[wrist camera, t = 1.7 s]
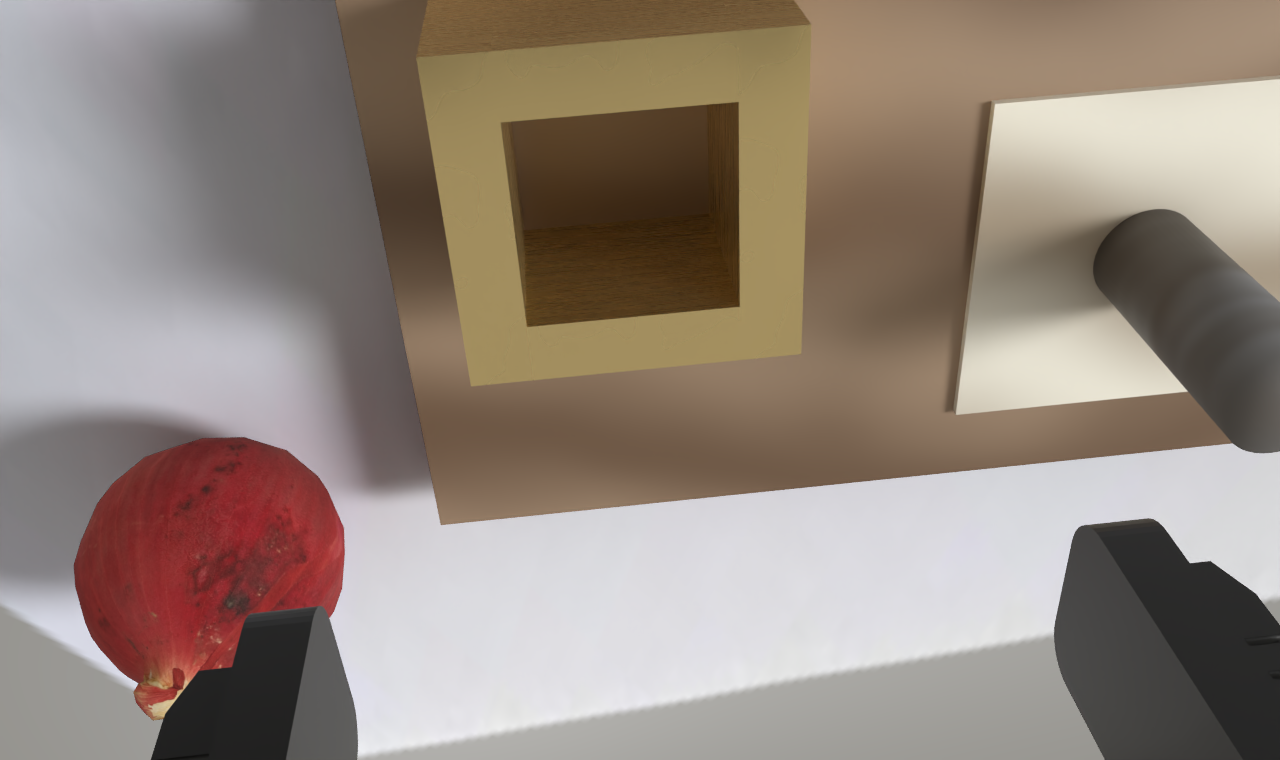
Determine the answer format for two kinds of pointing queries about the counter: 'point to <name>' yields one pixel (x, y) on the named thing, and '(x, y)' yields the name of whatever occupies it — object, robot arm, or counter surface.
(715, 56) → the collar
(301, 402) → the counter surface
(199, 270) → the counter surface
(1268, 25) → the post board
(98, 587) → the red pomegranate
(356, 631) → the counter surface
